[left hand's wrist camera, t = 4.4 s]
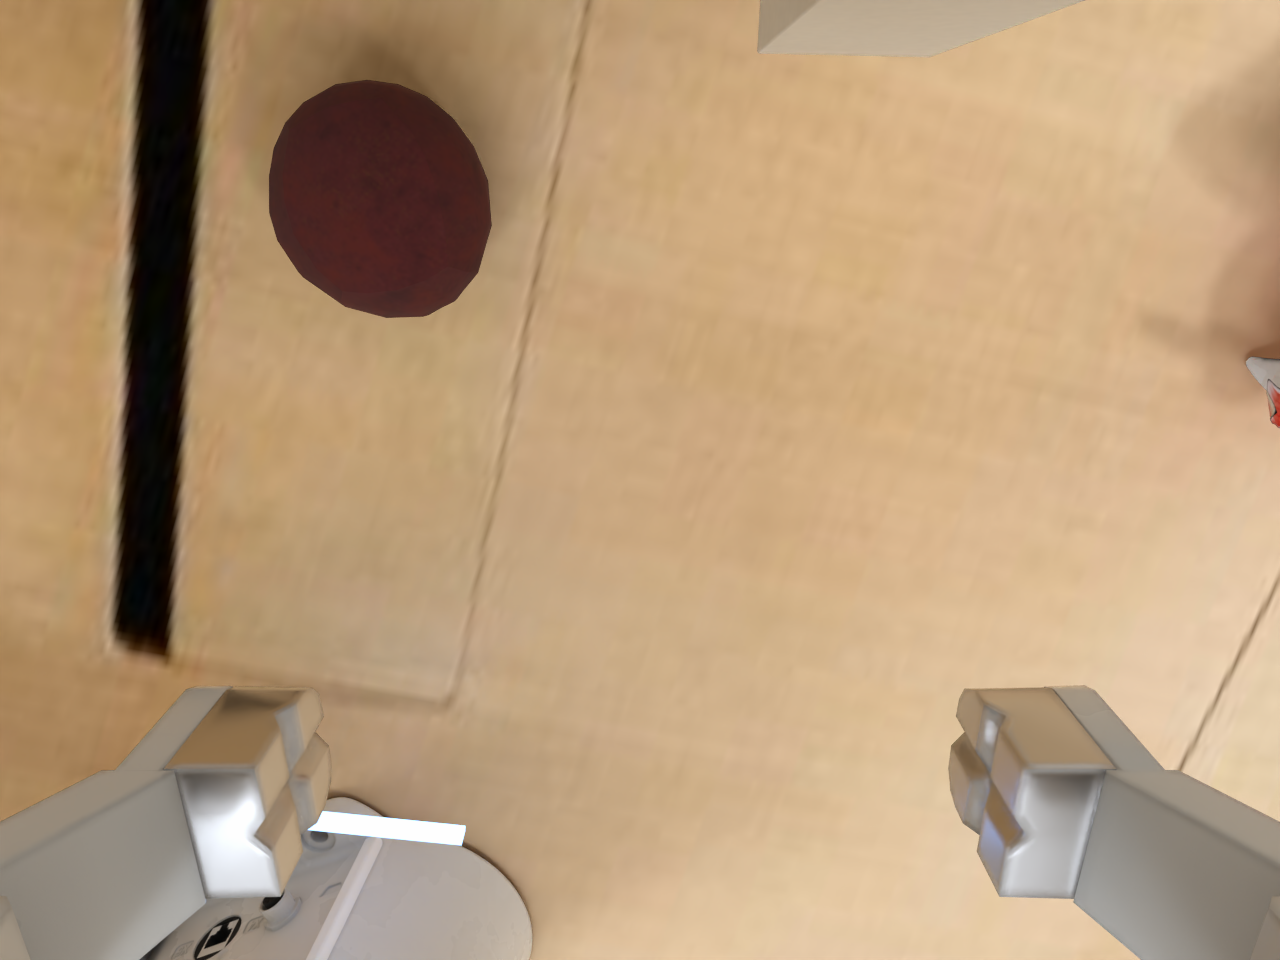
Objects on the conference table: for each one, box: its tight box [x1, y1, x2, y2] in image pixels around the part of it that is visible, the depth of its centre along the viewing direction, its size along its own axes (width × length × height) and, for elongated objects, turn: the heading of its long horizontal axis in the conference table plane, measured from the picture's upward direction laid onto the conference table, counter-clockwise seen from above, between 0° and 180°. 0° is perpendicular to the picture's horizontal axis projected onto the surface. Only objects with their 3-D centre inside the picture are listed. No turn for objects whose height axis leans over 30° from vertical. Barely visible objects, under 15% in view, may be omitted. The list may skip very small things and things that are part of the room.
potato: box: [269, 80, 491, 318], centre depth 28 cm, size 7×8×7 cm
